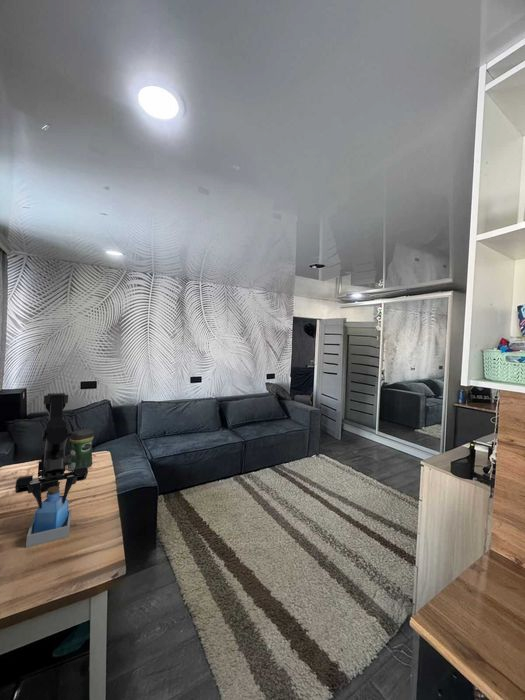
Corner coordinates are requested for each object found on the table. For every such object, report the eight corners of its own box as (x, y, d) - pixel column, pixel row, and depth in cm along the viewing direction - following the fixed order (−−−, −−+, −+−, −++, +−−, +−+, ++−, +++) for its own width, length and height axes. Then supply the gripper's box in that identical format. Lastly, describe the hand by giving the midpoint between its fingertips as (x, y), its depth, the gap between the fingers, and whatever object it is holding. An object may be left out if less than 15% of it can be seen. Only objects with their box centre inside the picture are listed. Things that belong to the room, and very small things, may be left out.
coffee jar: (84, 462, 138) (87, 426, 138) (94, 466, 134) (97, 429, 135) (64, 469, 129) (67, 430, 129) (74, 473, 125) (77, 433, 126)
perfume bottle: (33, 532, 83) (36, 493, 83) (47, 520, 89) (49, 483, 89) (55, 532, 84) (58, 493, 84) (67, 519, 90) (69, 483, 90)
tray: (32, 527, 87) (33, 517, 88) (70, 519, 93) (71, 509, 93) (25, 547, 79) (26, 536, 79) (68, 537, 84) (69, 526, 84)
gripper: (18, 452, 84) (11, 505, 75) (89, 443, 95) (90, 488, 87) (18, 468, 90) (12, 518, 81) (85, 457, 101) (86, 500, 93)
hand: (52, 505), depth 85 cm, fingers closed on perfume bottle, 5 cm apart
